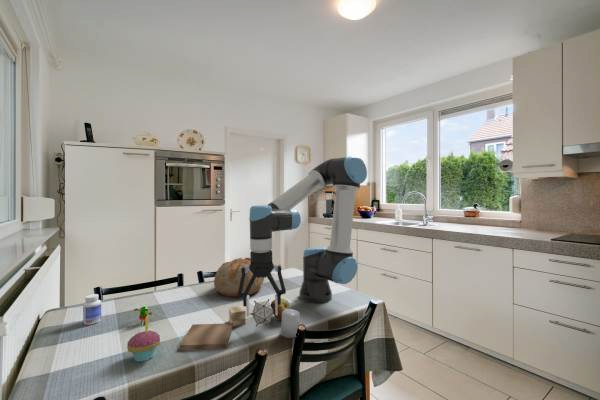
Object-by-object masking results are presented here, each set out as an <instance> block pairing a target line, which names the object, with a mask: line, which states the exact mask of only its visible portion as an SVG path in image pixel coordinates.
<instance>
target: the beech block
mask: <svg viewBox="0 0 600 400" xmlns="http://www.w3.org/2000/svg"><path fill="white" fill-rule="evenodd" d="M246 317H247V310H246V309H245V308H244V306H243V305H239V306H232V307H229V308H228V323H233V327H236V326H242V325H246Z"/></svg>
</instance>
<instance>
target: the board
mask: <svg viewBox="0 0 600 400" xmlns="http://www.w3.org/2000/svg"><path fill="white" fill-rule="evenodd" d="M233 329H234V326H233V323H230V322H228V323H202V324H201V323H200V324H199V323H198V324H197V323H195V324H194V323H193V324H192V325H191V327H190V328H189V330H187V333H186V334H185V337H184V338H183V339H182V341H181V343H180V344H179V351H196V350H199V351H200V350H216V349H217V350H218V349H219V350H220V349H223V350H224V349H228V348H227V347H228V344H229V342H230V340H231V335H232V332H233Z"/></svg>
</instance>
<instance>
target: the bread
mask: <svg viewBox="0 0 600 400" xmlns="http://www.w3.org/2000/svg"><path fill="white" fill-rule="evenodd" d="M242 266H245V267H246V266H250V257H245V258H242V257H239V258H235V259H232V260H231V261H226V262H223V263H222V264H221V266H220V267H219V268H217V270H216V272H215V276H214V279H213V286H214V289H215V290H216V292H218V293H219V294H220V295H222V296H225V297H230V298H231V297H234V298H235V297H236V298H240V297H241V296H238V290H239V286H240V281H241V277H242V271H241V269H242ZM252 275H253V273H252V272H251V271H250V269H249V270H248V272H247V273H246V276H245V280H244V285H243V289H242V291H243V292H245V290H246V287H247V285H248V283H249V281H250V279H251V277H252ZM264 280H265V278H264V277H260V278H257V277H256V279H255V280H254V282H253V284H252V286H251V288H250V290H249V292H248V294H247V295H249V296H250V295H253V294H255V293H257V292H258V291H260V289H261V287H262V285H263V284H264Z"/></svg>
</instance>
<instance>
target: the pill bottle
mask: <svg viewBox="0 0 600 400" xmlns="http://www.w3.org/2000/svg"><path fill="white" fill-rule="evenodd" d="M84 301H85V302H84V303H83V305H82V312H83V313H82V314H83V315H82V317H83V320H82V321H83V325H85V326H88V325H89V326H90V325H95V324H98V323H100V322H101V321H102V301H101V299H99V294H98V293H93V294H88V295H86V296H85V297H84Z"/></svg>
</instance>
